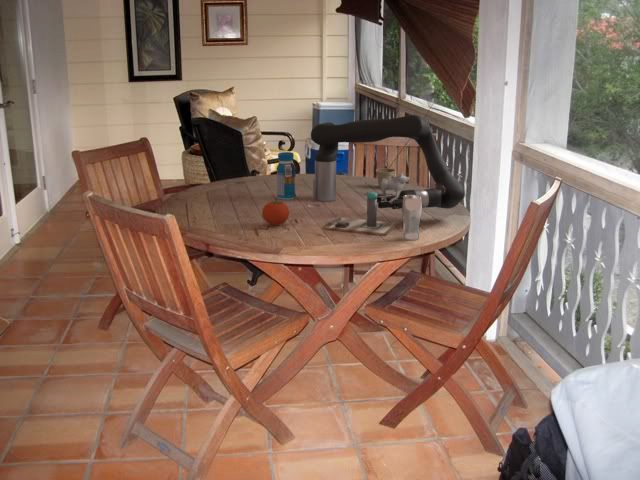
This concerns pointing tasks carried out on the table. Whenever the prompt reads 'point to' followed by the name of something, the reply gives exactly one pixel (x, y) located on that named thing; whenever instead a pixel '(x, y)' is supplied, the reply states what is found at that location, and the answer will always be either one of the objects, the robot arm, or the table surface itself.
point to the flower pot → (384, 174)
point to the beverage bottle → (286, 176)
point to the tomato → (275, 213)
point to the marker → (371, 209)
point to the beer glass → (411, 216)
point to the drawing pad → (360, 226)
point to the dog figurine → (394, 183)
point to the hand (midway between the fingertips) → (373, 202)
